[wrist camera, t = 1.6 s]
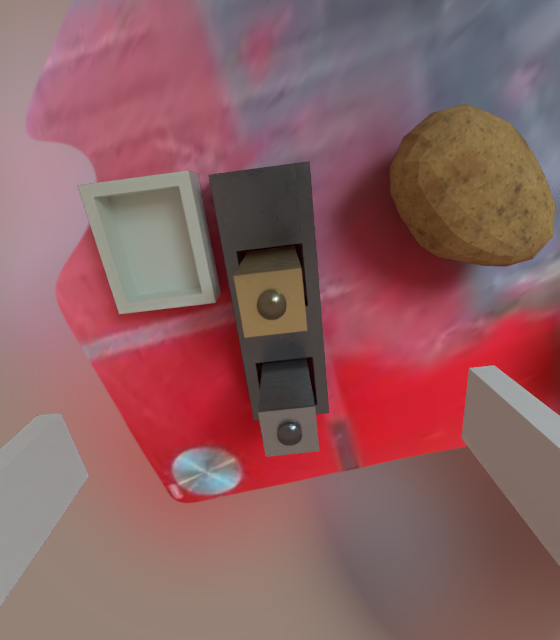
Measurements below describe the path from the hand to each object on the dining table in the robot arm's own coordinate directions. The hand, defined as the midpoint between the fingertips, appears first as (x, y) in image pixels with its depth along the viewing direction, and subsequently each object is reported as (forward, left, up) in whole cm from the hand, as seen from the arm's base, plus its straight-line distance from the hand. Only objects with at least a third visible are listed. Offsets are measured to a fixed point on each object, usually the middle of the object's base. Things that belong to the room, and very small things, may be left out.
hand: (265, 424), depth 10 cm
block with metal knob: (0, 0, -22) cm, 22 cm away
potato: (-5, +16, -22) cm, 28 cm away
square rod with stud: (+11, 0, -22) cm, 25 cm away
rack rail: (+3, 0, -22) cm, 22 cm away
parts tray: (-4, -10, -22) cm, 25 cm away
